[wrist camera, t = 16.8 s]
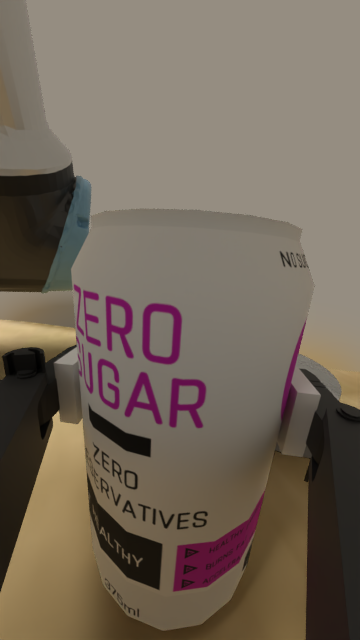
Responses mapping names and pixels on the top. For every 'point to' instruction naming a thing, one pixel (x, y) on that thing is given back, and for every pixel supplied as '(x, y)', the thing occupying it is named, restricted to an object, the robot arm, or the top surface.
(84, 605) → the top surface
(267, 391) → the supplement can
